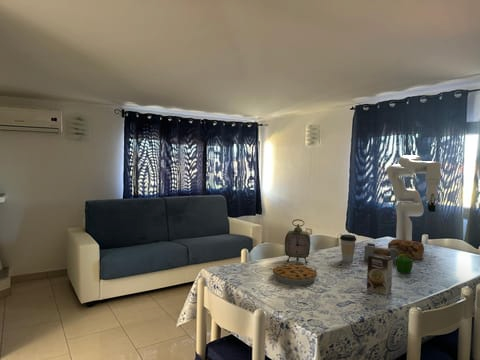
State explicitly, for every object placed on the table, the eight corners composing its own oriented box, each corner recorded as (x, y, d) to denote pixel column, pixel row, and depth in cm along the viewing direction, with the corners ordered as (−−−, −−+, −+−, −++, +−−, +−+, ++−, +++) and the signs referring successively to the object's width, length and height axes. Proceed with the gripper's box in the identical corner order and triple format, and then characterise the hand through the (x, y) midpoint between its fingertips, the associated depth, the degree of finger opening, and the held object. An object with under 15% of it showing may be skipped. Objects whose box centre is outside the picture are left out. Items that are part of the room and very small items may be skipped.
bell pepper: (410, 271, 182) (411, 252, 181) (413, 275, 174) (414, 256, 173) (393, 269, 184) (394, 251, 184) (396, 274, 176) (397, 255, 176)
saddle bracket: (390, 260, 202) (391, 245, 201) (396, 261, 200) (396, 246, 200) (390, 264, 194) (390, 248, 194) (395, 264, 193) (396, 249, 192)
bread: (424, 257, 209) (424, 241, 209) (416, 260, 202) (417, 244, 202) (394, 251, 224) (395, 236, 223) (386, 253, 217) (387, 238, 216)
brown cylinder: (368, 254, 201) (368, 247, 201) (369, 252, 205) (369, 245, 205) (398, 258, 194) (398, 250, 194) (398, 256, 198) (398, 248, 198)
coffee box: (366, 290, 153) (367, 255, 152) (372, 286, 158) (373, 252, 157) (386, 296, 147) (387, 259, 146) (392, 292, 151) (393, 256, 150)
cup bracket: (365, 257, 208) (366, 242, 207) (374, 258, 206) (375, 243, 205) (364, 260, 200) (364, 245, 200) (373, 261, 198) (373, 246, 197)
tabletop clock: (284, 262, 194) (285, 219, 192) (285, 258, 202) (286, 217, 201) (309, 264, 190) (310, 221, 189) (310, 260, 199) (311, 218, 198)
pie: (265, 274, 174) (265, 264, 173) (302, 270, 181) (302, 261, 181) (285, 289, 153) (285, 278, 153) (325, 283, 161) (326, 273, 161)
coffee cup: (353, 258, 204) (354, 234, 203) (357, 263, 194) (358, 237, 193) (337, 258, 205) (338, 233, 204) (340, 262, 195) (341, 237, 194)
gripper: (424, 181, 210) (423, 208, 210) (426, 182, 194) (425, 212, 195) (438, 181, 206) (437, 209, 207) (441, 183, 191) (440, 213, 192)
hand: (431, 210), depth 201 cm, fingers open, 9 cm apart
